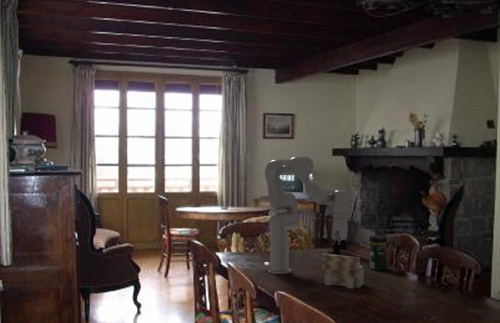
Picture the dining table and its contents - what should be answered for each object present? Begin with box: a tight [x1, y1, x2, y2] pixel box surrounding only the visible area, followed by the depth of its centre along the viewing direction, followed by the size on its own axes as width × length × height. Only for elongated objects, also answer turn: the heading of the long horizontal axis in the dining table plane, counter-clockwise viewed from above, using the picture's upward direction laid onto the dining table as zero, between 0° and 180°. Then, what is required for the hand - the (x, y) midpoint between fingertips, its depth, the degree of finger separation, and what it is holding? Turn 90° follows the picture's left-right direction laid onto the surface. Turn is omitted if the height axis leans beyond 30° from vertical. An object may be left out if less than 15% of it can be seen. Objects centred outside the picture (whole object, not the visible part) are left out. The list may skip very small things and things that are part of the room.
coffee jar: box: [368, 234, 388, 271], centre depth 292 cm, size 10×8×19 cm
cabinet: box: [324, 265, 365, 290], centre depth 256 cm, size 18×11×9 cm, turn 62°
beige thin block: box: [321, 253, 361, 289], centre depth 254 cm, size 18×4×14 cm, turn 62°
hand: (339, 251), depth 254 cm, fingers open, 9 cm apart
